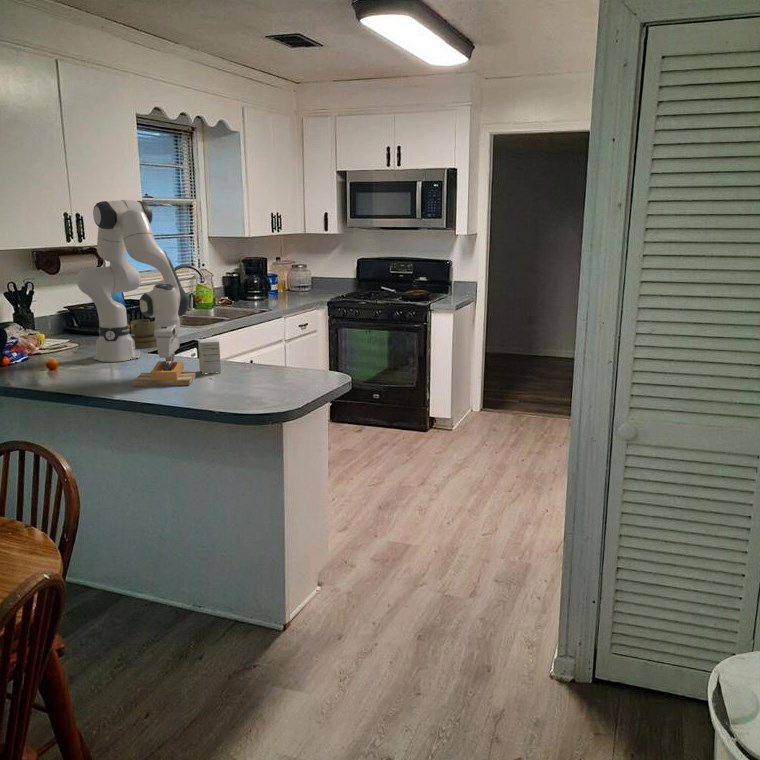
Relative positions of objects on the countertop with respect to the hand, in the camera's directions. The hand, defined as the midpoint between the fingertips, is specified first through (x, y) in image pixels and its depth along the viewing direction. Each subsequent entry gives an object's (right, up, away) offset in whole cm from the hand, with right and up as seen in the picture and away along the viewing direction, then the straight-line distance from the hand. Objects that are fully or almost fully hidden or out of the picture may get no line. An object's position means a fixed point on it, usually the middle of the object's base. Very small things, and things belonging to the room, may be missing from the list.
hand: (170, 365), depth 265 cm
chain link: (0, -4, -5) cm, 6 cm away
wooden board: (-1, -6, -5) cm, 8 cm away
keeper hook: (0, -4, -6) cm, 7 cm away
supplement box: (+12, -3, +11) cm, 17 cm away
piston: (-31, +10, +66) cm, 73 cm away
